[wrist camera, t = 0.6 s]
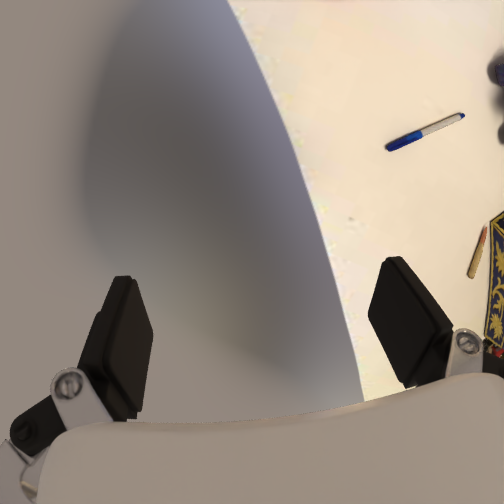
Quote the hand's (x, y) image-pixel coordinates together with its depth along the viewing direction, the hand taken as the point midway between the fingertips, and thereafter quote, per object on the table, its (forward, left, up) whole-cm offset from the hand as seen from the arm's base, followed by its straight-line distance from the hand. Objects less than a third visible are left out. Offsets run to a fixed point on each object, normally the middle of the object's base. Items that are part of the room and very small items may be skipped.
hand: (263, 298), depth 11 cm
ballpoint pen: (-6, +18, -16) cm, 24 cm away
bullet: (+8, +33, -15) cm, 37 cm away
